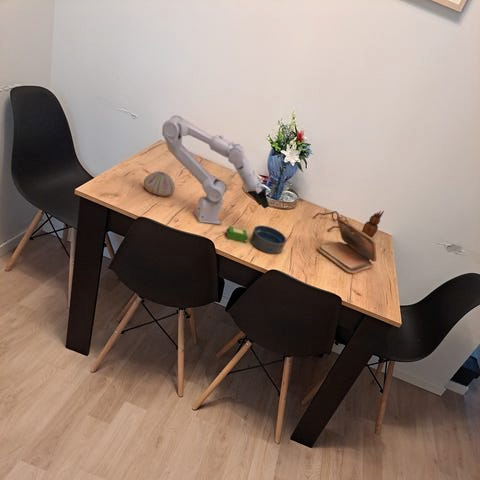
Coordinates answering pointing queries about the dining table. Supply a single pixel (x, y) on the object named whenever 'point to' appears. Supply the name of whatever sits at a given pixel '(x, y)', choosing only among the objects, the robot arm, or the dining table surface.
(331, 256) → the case
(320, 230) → the dining table surface
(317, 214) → the glasses
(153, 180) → the sea urchin shell
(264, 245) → the bowl
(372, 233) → the wooden figurine
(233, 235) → the green box
